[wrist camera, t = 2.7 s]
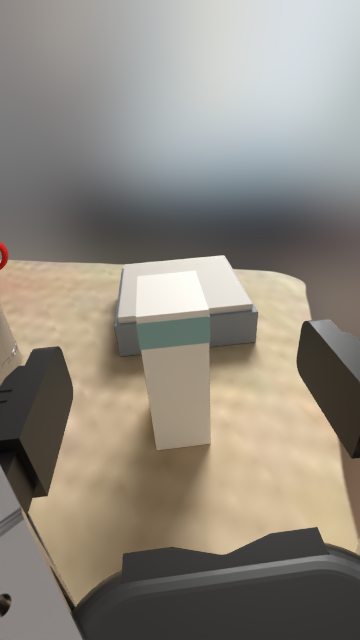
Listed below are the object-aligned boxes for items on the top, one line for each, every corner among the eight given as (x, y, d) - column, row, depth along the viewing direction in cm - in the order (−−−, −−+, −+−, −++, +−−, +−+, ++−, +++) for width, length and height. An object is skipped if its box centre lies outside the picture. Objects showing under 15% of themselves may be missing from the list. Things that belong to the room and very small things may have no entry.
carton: (156, 451, 26) (135, 317, 19) (153, 396, 32) (136, 275, 25) (211, 444, 27) (209, 309, 20) (200, 391, 32) (196, 270, 25)
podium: (120, 356, 37) (112, 320, 35) (126, 293, 51) (121, 263, 48) (255, 342, 38) (258, 305, 35) (226, 283, 52) (226, 253, 49)
